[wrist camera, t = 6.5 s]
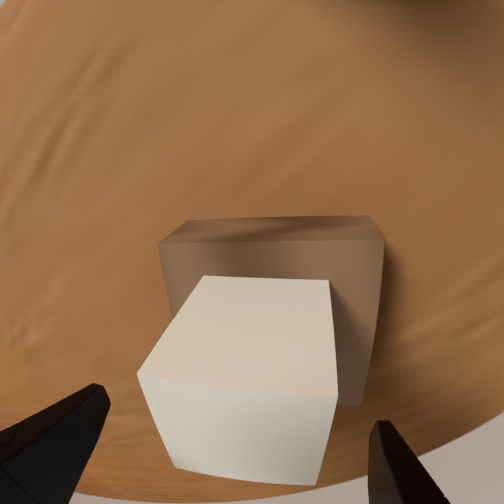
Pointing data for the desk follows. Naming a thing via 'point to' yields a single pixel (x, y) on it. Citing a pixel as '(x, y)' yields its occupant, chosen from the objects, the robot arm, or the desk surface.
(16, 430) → the robot arm
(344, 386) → the walnut block
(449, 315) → the desk surface
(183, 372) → the cream block
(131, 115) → the desk surface
